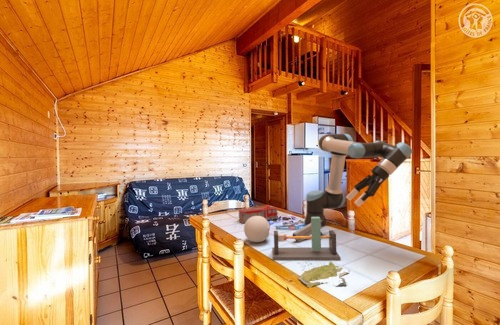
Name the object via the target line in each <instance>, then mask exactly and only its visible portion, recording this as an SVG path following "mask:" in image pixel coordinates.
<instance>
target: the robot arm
mask: <svg viewBox="0 0 500 325" xmlns="http://www.w3.org/2000/svg"><path fill="white" fill-rule="evenodd" d="M317 144H318V148H319V149H320V150H321V151H322V152H327V153H330V155H331V162H330V170H329V176H328V177H329V178H328V185H327V187H326V188H325V191H323V190H312V191H309V192H307V193H306V197H305V200H306V215H305V218H304V225H305V226H306V225H308V224H310V223H311V217H320V219H323V220H324V223H325V225H324V226H323V227H326V226H327V225H328V224H327V219H326V216H325V211H324V210H326V209H327V210H328V209H339V208H341V207H343V206H344V205H345V202H346V199H347V200H348V201H351V200H352V199H354V198H355V197H356V196H357V194H358V193H360V192H361V191H362V190H363V189H364V188H366V190H365V191H364V192H363V193H362V194H361V195H360V196H359V197H358V198H357V199H356V200H354V202H353V203H354V204H355V205H356V206H357V207H358V208H359V207H360V206H362V205H363V204H364V203H365V202H366V201H367V200H368V199H369V198H370V197H374V196H375V194H376V193H377V192H378V190H379V188H380V187H381V185H382V184H383V183H384V182H385V181H386V180H387V179H388V178H389V177H390V176H391V175H393V173H394V172H395V171H396V170H398V168H399V167H400V166H401V165H402V164H403V163H404V162H405V161H406V160H407V159H409V157H410V156H411V155H412V154H413V149H412V147H411V146H410V145H408V144H407V143H405V142H402V141H401V142H398V143H397V144H396V145H395V144H390V143H387V142H385V141H381V140H375V141H373V142H357V141H354V139H353V137H352V136H351V135H350V134H348V133H328V134H323V135H322V136H321V137H320V138H319V139H318V143H317ZM347 156H349V157H350V158H352V159H365V158H382V159H380V161H379V162H378V163H377V165H375V166H374V167H372V169H371V171H370V172H371V173H372V174H371V175H370V174H368V175H366V177H364V178H363V179H362V180H360V181H359V182H358V183H356V184H355V185H354V186H353V187H354V188H353V189H352V190H351V191H350V192H349V193H348V194H347V195H346V196H345V194H344V192H343V189H342V188H341V187H342V183H343V175H344V169H345V162H346V157H347Z"/></svg>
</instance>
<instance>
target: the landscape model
mask: <svg viewBox="0 0 500 325" xmlns="http://www.w3.org/2000/svg"><path fill="white" fill-rule="evenodd" d="M343 269H344V267H341V266H340V267H339V265H336V264H335V263H334V262H332V261H330V262H328V264H325V265H320V266H316V267H313V268H311V269H309V270H304V272H303V273H302V274H301V275H299V276H297V278H298V280H300V281H301V282H302V283H303V284H304V285H306V287H307V288H308V287H310V288H312V287H314V286H317V285H321V284H322V285H325V284H328V282H326V281H325V282H324V281H323V282H322V281H320V280H326V279H330V278H329V277H331V278H334V277H338V279H341V282H339V284H338V285H337V287H340V286H344V287H345V286H347V282H346V280H345V278H343V277H342V276H344V275H346V274H348V273H351V271H350V270H349V269H347V272H346V271H343V272H341V271H342V270H343ZM340 272H341V273H340ZM338 273H339V274H338ZM310 281H312V282H310ZM314 281H315V282H314ZM333 285H334V286H335V284H333Z"/></svg>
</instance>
